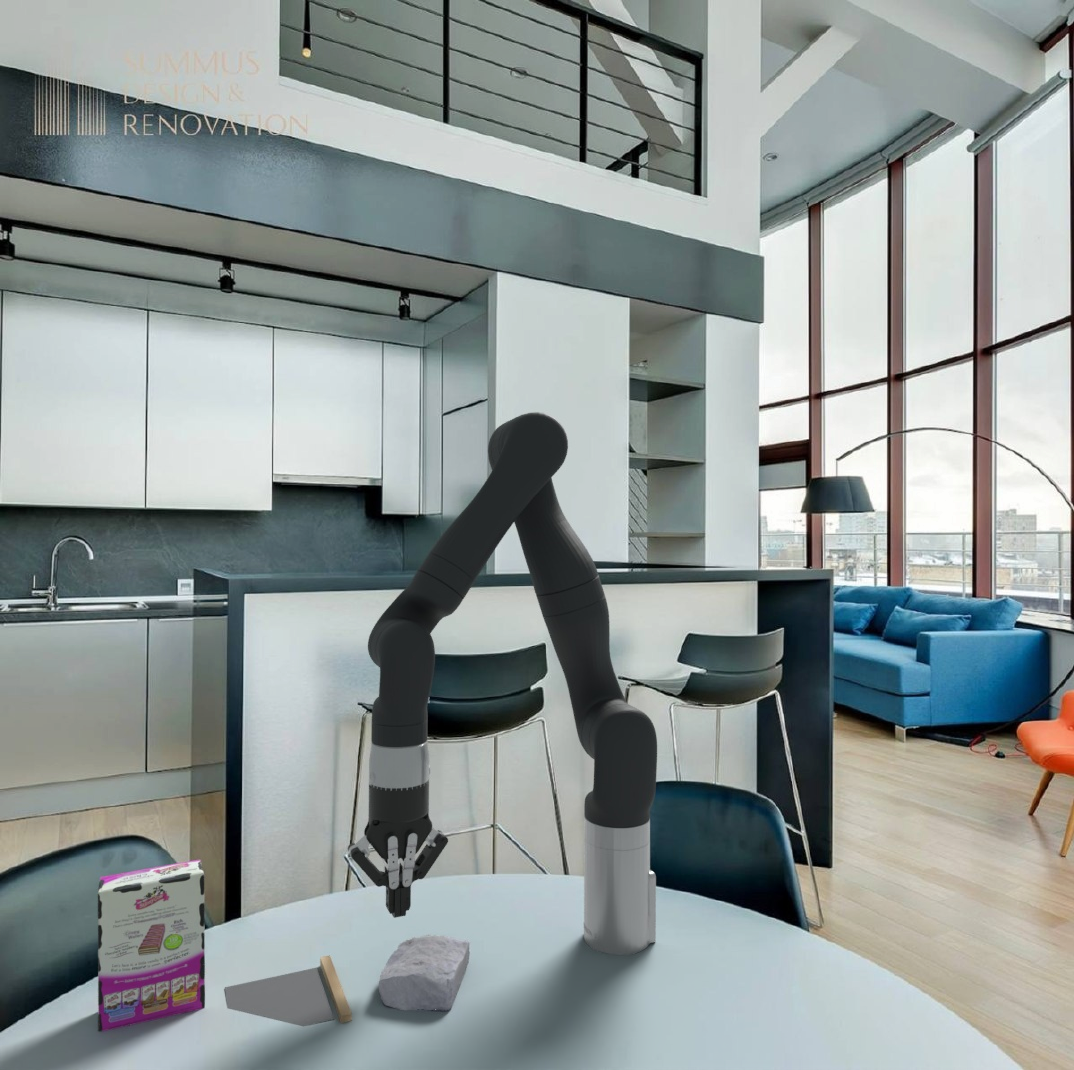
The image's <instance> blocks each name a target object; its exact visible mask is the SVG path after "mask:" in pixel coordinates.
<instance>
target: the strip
mask: <svg viewBox="0 0 1074 1070" xmlns="http://www.w3.org/2000/svg"><path fill="white" fill-rule="evenodd" d="M319 963H320V964H319V966H320V970H321V972H322V974H323V977H324V980H325V983H326V985H327V988H328V990H329V994H330V996H331V998H332V1002H333V1004H334V1007H335V1010H336V1013H337V1015H338V1019H339V1021H340V1023H341V1024H343V1023H347V1022H353V1021H352V1020H353V1015H352V1011H351V1008H350V1006H349V1005H350V1004H349V1003H348V1000H347V997H346V994H345V992H344V990H343V989H344V988H343V987H342V985H341V980H340V979H339V976H338V974H337V971H336V968H335V966H334V963H333V960H332V958H331V956H330V955H325V956H320V959H319Z"/></svg>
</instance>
